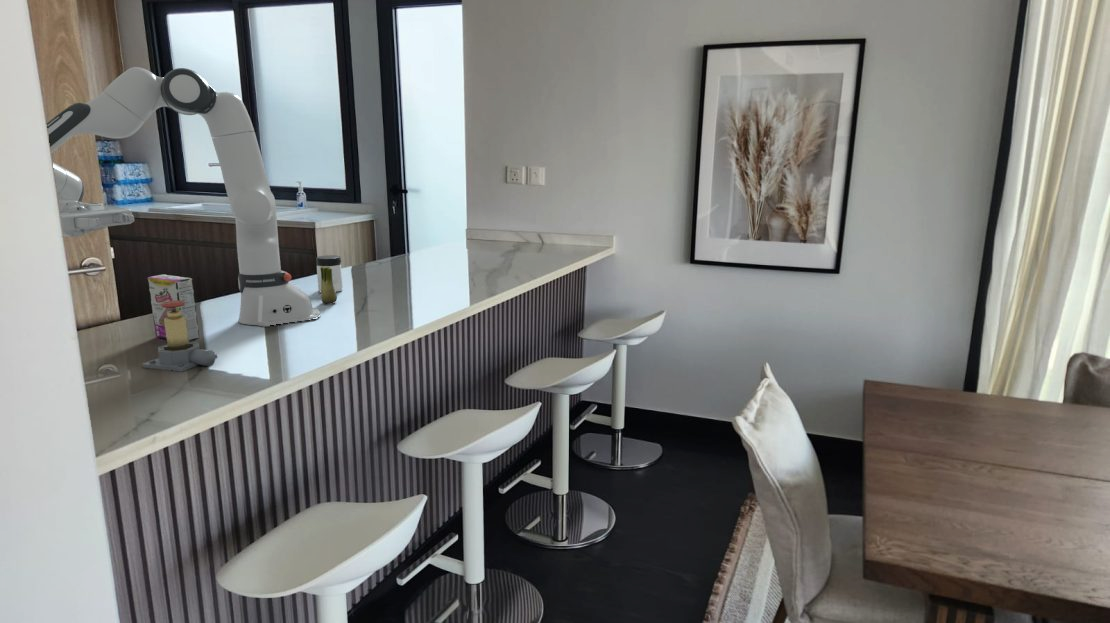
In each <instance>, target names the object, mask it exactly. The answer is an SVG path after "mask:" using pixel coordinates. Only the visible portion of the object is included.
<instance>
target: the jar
mask: <svg viewBox="0 0 1110 623" xmlns="http://www.w3.org/2000/svg"><path fill="white" fill-rule="evenodd" d="M341 258H342V257H341V256H339V255H333V254H331V255H328V254H327V255H320V256H316V259H315V260H316V275H317V276H316V278H317V290H318V292H319V291H321V284H322V283H321V267H330V268H331V269H332V282H333V287H334V290H335V291H341V292H342V291H343V289H342V288H343V275H342V260H341Z"/></svg>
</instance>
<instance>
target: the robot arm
mask: <svg viewBox="0 0 1110 623" xmlns="http://www.w3.org/2000/svg"><path fill="white" fill-rule="evenodd" d="M162 107H163V108H165V109H168V110H171V111H173V112H175V113H178V114H181V115H185V116H194V115H199V116H201V118H203V120H204V121H205V122H206V125H207V127H208V131H209V133H210V138H211V140H212V143H213V146H214V149H215V153H216V156H217V160H218V163H219V166H220V170H221V174H222V179H223V184H224V186H225V190H226V195H227V198H228V202H229V205H230V209H231V212H232V214H233V217H235V231H236V232H235V235H236V251H237V260H238V269H239V272H238V274H237V275H238V277H237V280H238V290H239V292H240V308H239V310H240V311H239V316H238V321H237V322H238V323H240V324H242V325H249V326H258V327H271V326H270V325H274V326H277V325H276V324H281V325H284V324H283V323H288V324H290V323H289V322H295V323H298V322H297V321H302V322H304V321H303V320H309V319H313V318H316V317H318V316H319V315H320V316H321V312H320V310H319V309H318V308H316V307H313V305H312V302H311V298H310V296H309V295H308V294H307V293H306V292H305V291H303V290H302V289H300V288H298V287H296V286H295V285H293V284H292V283H291V282H290V281H291V280H292V275H291V274H290V273H288V272H287V271H284V270H282V269H281V268H282V267H281V259H280V258H281V256H280V247H279V244H280V243H279V234H278V233H279V231H278V219H277V218H278V217H277V206H276V205H277V204H276V199H275V196H274V193H273V192H272V191H271V187H270V184H269V183H270V182H269V180H268V175H267V172H266V167H265V164H264V159H263V156H262V153H261V149H260V146H259V143H258V138H257V135H256V132H255V128H254V126H253V125H254V124H253V123H252V120H251V117H250V115H249V113H248V110H247V107H246V105H245V104H244V102H243V100H242V98H240V96H238V95H237V94H235V93H232V92H228V91H223V92H220V91H219V92H216V90H215V88H213V87H212V86H211V85H210V84H209V83H208V81H207V80H206V79H205V78H203V77H202V75H201V74H199V73H197V72H196V71H194V70H192V69H189V68H186V67H185V68H184V67H178V68H175V69H172V70H170V71H169V72H167V73H166V74H165V75H164V77H160V76H157V75H156V74H154V73H153V72H152V71H150V70H148V69H146V68H143V67H139V66H134V67H130V68H128V69H127V70H125V71H124V72H122V73H121V74H120V75H119V76H117V77H116V78H115V79H114V80H113V81H112V82H110V83H109V85H108V86H106V88H105V89H103V91H101V93H100V94H99V95H98V96H96V97H95V98H93V99H91V100H88V101H87V102H84V103H83V102H76V103H72V105H69V106H68V107H66V108H65V109H63V110H62V111H60V112H59V113H58V114H57V115H55V116H54V117H53V118H52V119H50V120H49V121H47V122H46V124H47V128H48V135H49V143H50V149H51V154H52V153H54V152H56V150H57V149H59V148H60V147H61V146H62V145H63V144H65V143H66V142H67V141H68V140H70V139H71V138H74V137H75V136H78V135H82V134H83V135H94V136H99V137H104V138H109V139H125V138H130V137H131V136H133V135H134V134H135V133H137V132H138V131H139V130H140V128H142V126H143V125H144V124H145V123H146V122H147V121H148V120H149V118H150V117H151V116H152V115H153V114H154V113H155V112H156V111H157V110H158V109H159V108H162ZM53 168H54V173H55V179H56V186H57V193H58V201H59V208H60V216H61V223H62V230H63V236H62V237H65V238H79V237H82V236H85V235H87V234H89V233H91V232H94V231H98V230H104V229H106V228H108V227H113V226H114V227H115V226H123V225H131V224H132V223H134V222H135V216H134V215H133V212H132V210H131V209H130V208H125V207H120V206H111V205H104V204H103V203H102V202H101V203H100V202H98V203H97V202H82V201H83V199H84V193H85V187H84V186H85V185H84V183H83V181H82V178H81V177H80V176H79V175H76V173H74V172H72V171H69V169H66V168H65V167H63V166H62V165H61V166H60V165H59V164H57V163H55V162H53Z"/></svg>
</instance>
